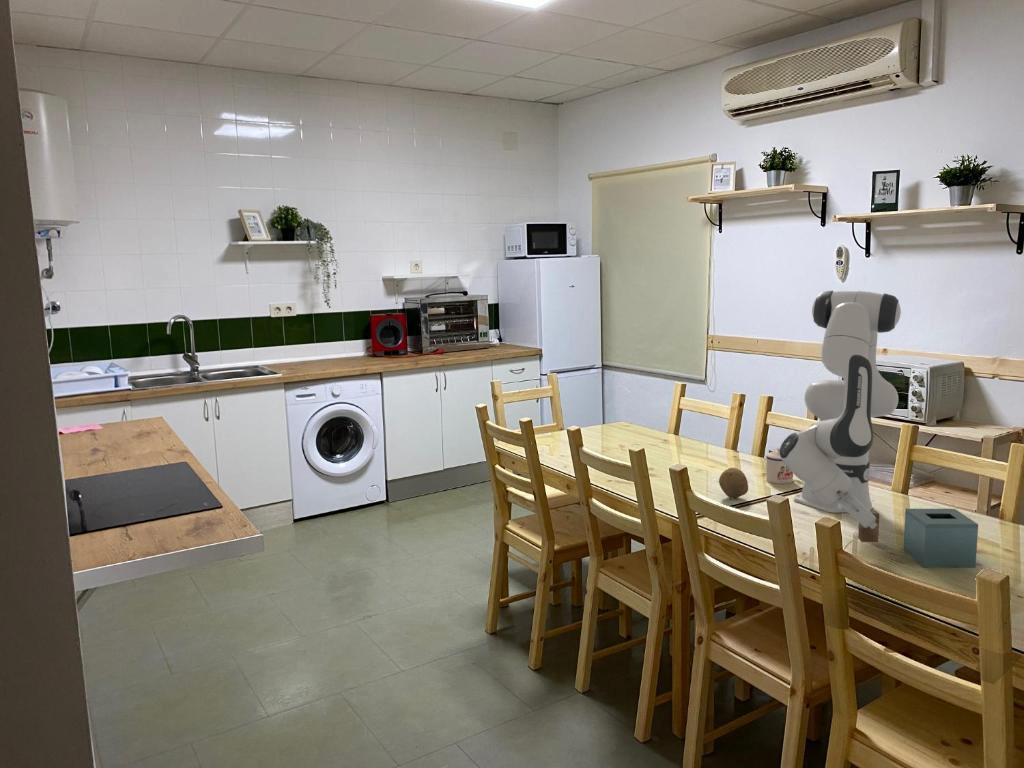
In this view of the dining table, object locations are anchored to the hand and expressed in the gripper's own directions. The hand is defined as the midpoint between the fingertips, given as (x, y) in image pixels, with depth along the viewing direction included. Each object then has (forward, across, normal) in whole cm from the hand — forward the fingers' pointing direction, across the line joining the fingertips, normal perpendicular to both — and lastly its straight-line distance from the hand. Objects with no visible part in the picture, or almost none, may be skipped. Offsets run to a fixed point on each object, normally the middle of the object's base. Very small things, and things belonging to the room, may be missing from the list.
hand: (871, 523), depth 192 cm
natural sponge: (-11, +50, +25) cm, 57 cm away
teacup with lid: (+4, +71, +10) cm, 72 cm away
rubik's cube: (+7, +90, +8) cm, 91 cm away
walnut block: (+3, 0, +4) cm, 4 cm away
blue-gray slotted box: (+18, 0, -5) cm, 19 cm away
